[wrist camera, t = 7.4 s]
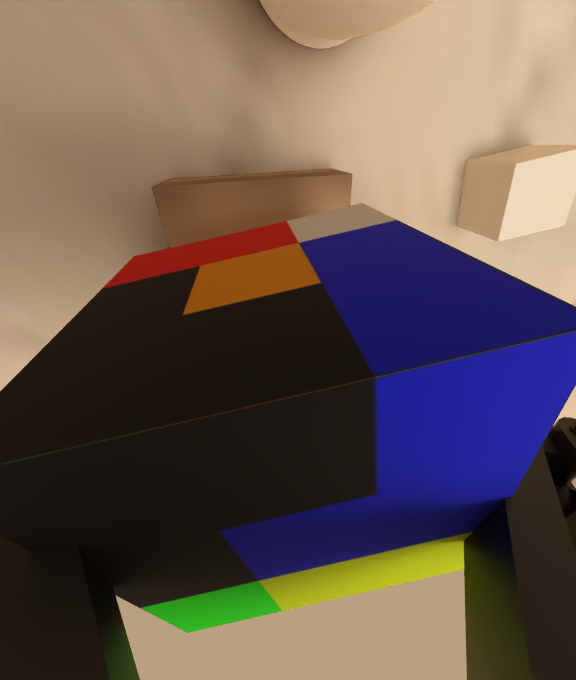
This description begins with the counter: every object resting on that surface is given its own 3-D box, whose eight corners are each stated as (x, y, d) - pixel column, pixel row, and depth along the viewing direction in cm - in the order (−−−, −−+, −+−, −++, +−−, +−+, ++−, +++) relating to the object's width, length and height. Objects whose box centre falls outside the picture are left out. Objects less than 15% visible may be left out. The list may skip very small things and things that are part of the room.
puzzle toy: (362, 203, 12) (610, 323, 4) (367, 373, 18) (472, 567, 10) (134, 256, 12) (-95, 486, 4) (213, 409, 18) (187, 632, 10)
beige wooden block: (465, 160, 22) (516, 163, 18) (528, 145, 22) (593, 145, 18) (456, 225, 25) (497, 241, 21) (511, 212, 25) (564, 225, 21)
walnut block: (169, 178, 21) (151, 187, 16) (331, 168, 22) (352, 173, 17) (205, 320, 27) (198, 351, 23) (326, 308, 28) (340, 335, 24)
